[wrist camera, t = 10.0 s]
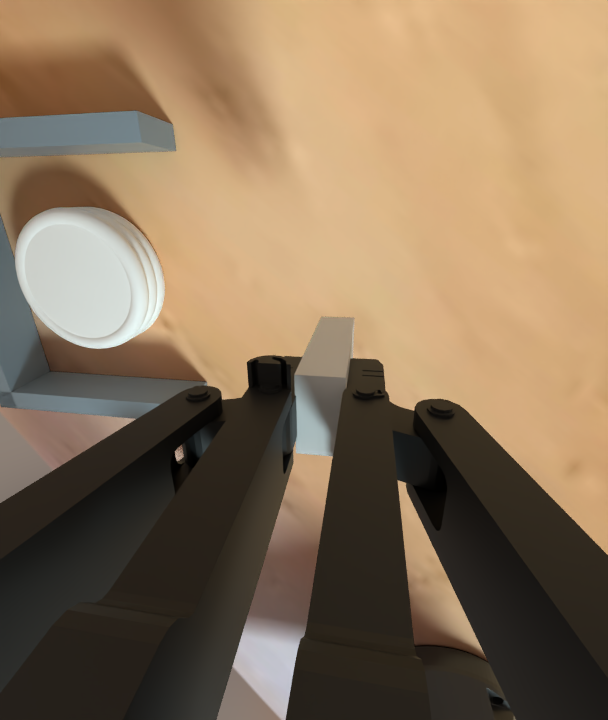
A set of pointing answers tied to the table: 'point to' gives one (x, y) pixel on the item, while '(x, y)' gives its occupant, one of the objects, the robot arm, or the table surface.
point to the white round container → (89, 275)
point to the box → (9, 306)
